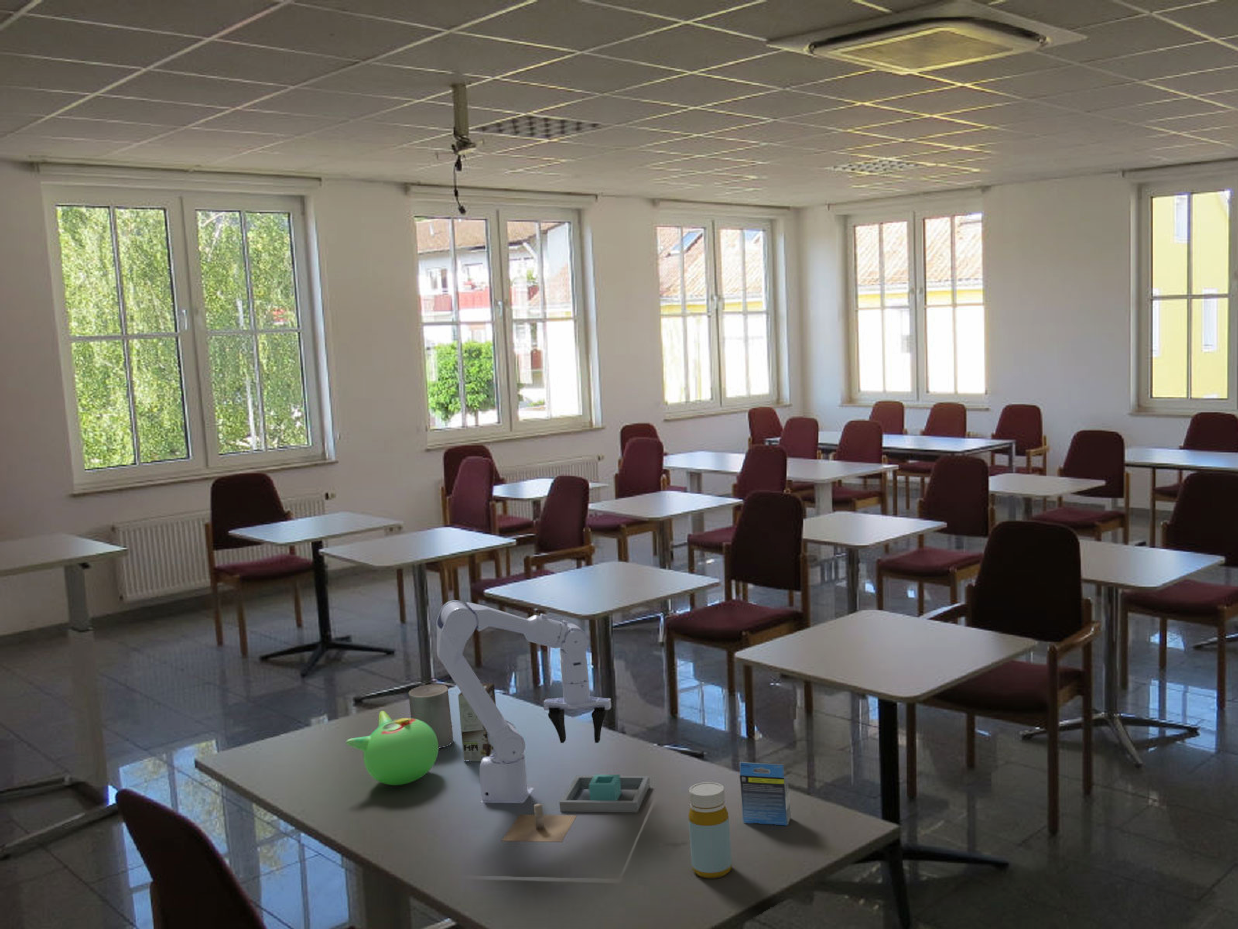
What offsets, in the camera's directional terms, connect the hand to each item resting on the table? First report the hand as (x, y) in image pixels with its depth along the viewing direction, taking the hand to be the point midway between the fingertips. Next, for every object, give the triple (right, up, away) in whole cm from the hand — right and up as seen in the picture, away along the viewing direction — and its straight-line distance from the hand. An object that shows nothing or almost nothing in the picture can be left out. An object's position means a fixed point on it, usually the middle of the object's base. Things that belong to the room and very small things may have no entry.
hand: (580, 741), depth 244 cm
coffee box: (-24, -9, +24) cm, 35 cm away
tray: (+6, -10, -9) cm, 15 cm away
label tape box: (+37, -9, -25) cm, 46 cm away
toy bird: (-41, -12, +11) cm, 44 cm away
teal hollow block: (+6, -10, -9) cm, 15 cm away
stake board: (-7, -12, -22) cm, 26 cm away
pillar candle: (-37, -9, +34) cm, 51 cm away
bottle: (+25, -12, -44) cm, 52 cm away
